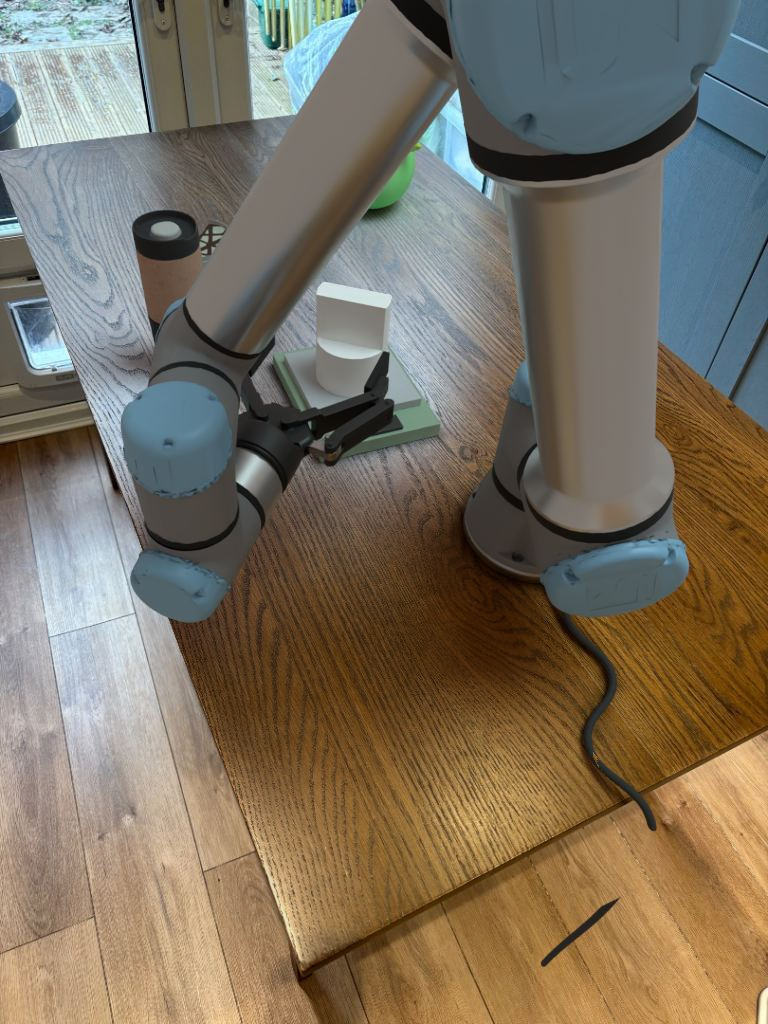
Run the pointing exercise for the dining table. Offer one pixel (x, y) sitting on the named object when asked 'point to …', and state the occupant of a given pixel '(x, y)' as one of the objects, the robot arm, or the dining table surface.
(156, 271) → the travel mug
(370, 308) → the base with upright slab
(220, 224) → the food container
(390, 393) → the scale
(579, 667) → the dining table surface
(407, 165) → the toy bird
